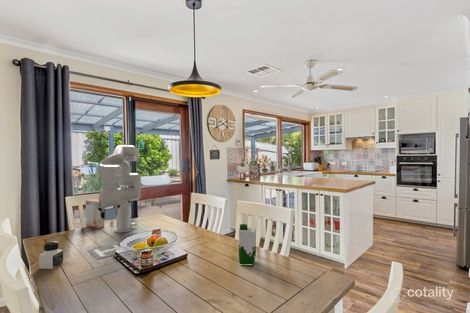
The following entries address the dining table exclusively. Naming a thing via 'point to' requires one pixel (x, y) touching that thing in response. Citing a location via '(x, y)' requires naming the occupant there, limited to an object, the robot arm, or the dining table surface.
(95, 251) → the letter card
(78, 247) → the dining table surface
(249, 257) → the milk carton
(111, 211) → the blue cube
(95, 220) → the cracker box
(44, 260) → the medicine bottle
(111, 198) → the robot arm
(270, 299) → the dining table surface
